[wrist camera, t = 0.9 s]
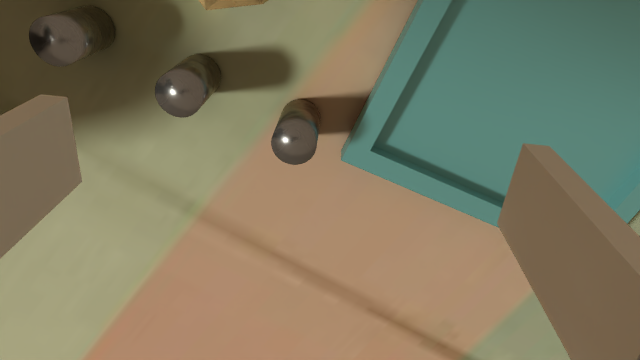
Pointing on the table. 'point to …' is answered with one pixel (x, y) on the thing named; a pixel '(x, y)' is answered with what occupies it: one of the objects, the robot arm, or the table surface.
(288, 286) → the table surface
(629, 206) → the tray
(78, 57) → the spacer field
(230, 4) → the nut
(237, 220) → the table surface
